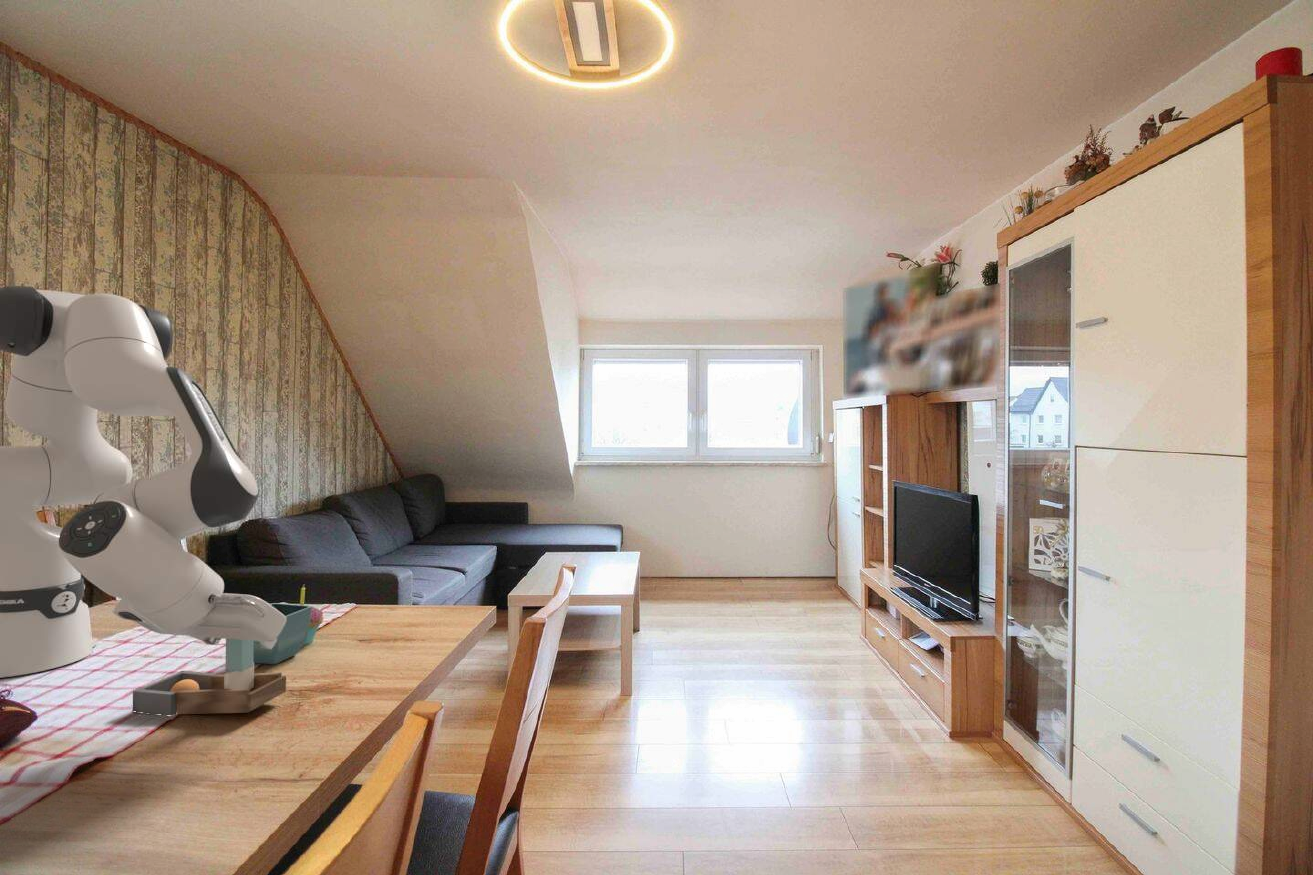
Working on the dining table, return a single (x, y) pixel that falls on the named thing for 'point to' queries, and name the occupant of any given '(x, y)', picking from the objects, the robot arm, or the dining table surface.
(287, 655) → the flower pot
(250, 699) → the hexagonal shallow dish
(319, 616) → the cupcake
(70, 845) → the dining table surface
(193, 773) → the dining table surface
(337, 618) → the dining table surface
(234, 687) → the rectangular block
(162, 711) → the grey low frame
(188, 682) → the ball
